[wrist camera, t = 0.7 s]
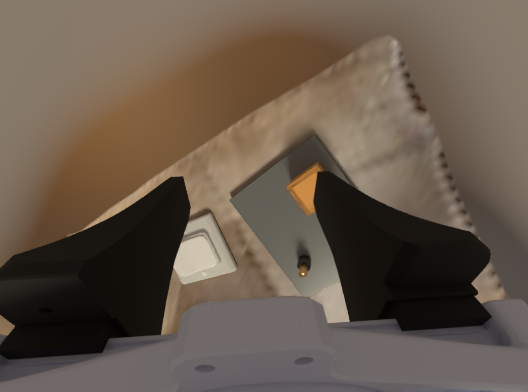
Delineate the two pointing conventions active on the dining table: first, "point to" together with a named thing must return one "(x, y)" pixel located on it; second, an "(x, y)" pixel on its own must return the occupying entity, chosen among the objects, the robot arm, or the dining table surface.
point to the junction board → (291, 218)
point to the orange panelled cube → (305, 188)
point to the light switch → (203, 251)
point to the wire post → (303, 265)
